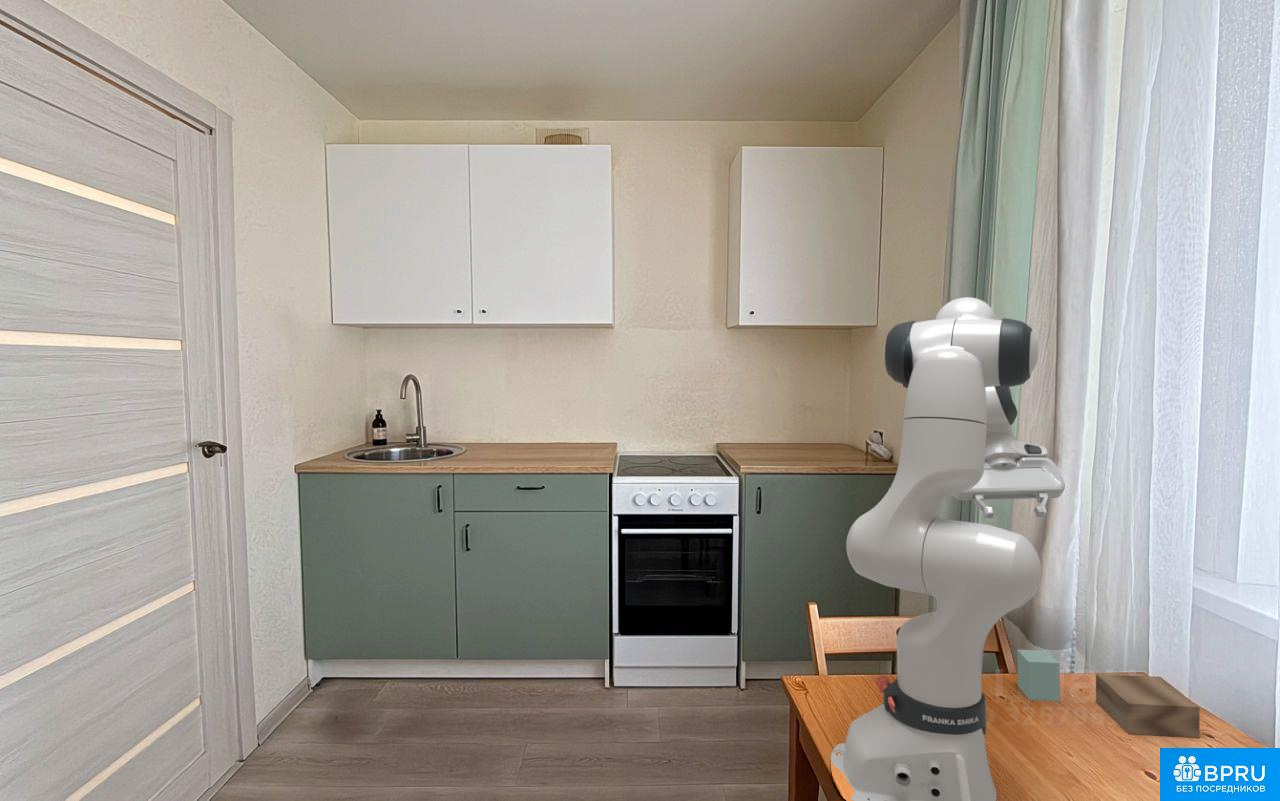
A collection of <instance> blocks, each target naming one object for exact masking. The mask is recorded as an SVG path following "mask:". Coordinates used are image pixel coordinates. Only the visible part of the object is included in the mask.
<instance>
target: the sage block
mask: <svg viewBox="0 0 1280 801" xmlns="http://www.w3.org/2000/svg"><path fill="white" fill-rule="evenodd" d="M1016 652H1017V653H1016V654H1017V655H1016V656H1017V658H1016V659H1017V660H1016V661H1017V662H1016V663H1017V687H1018V689H1020V690H1021V692H1022V693H1023V695H1024V696H1025V698H1027V699H1028V701H1040V702H1041V701H1043V702H1058V703H1059V702H1061V701H1060V700H1061V686H1060V685H1061V684H1060V682H1061V680H1060V679H1061V677H1060V675H1061V674H1060V662H1059V661H1058V660H1057V659H1056V658H1055V657H1054V656H1053V655H1052V653H1050V652H1049V651H1048V650H1038V649H1017V651H1016Z"/></svg>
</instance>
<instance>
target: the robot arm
mask: <svg viewBox="0 0 1280 801" xmlns="http://www.w3.org/2000/svg"><path fill="white" fill-rule="evenodd" d="M882 357H883V363H884V366H885V369H886V373H887V375H888V376H889V377H890V378H891V379H892V380H893V381H894V382H896V383H898V384H901V385H902V387H903V388H905V389H906V390H907V392H906V395H905V396H906V397H905V402H904V409H903V410H904V412H903V421H902V422H903V424H902V436H901V444H900V453H899V460H898V466H897V469H896V472H895V473H896V474H895V476H894V478H893V482H892V483H891V486H890V487H889V488H888V491H887V492H886V493H885V495H884V496H883V497H882V499H881V500H880V501H878V503H877V504H876V505H875V506H874V507H872V508H871V509H870V510H868V511H867V512H865V513H864V514H862V515H860V516H859V517H858V518H857V519H856V520H855V521H854V522H853V523H852V525H851V527H850V528H849V531H848V534H847V537H846V543H845V544H846V545H845V548H846V553H847V554H846V555H847V558H848V561H849V563H850V565H851V567H852V568H853V570H854V572H855V573H857V574H858V575H859V576H861V577H864V578H866V579H868V580H870V581H873V582H875V583H878V584H880V585H883V586H885V587H890V588H896V589H899V590H906V591H909V592H915V593H919V594H922V595H924V594H925V595H928V596H931V597H934V598H935V599H936V603H937V605H936V611H931V612H928V613H927V612H926V613H924V614H919V615H917V616H914V617H912V618H910V619H908V620H907V621H905V622H904V623H903V624H902V625H901V627H900V628H899V630H898V633H897V635H896V665H897V666H896V667H897V668H896V669H897V670H896V671H897V673H896V674H897V678H896V679H895V680H893V682H890V678H888V676H887V675H885V674H879V675H878V676H877V677H876V678H875V684H876V686H877V689H878V690H879V692H881V694H882V695H883V697H882V699H883V700H882V701H883V703H882V704H880V705H879V706H876V707H875V708H873V709H872V710H869V711H867V712H866V713H865V714H864V713H863V715H861V716H858V717H857V718H855V719H854V720H853V721H852V722H851V723H850V725H849V728H848V730H847V734H846V740H845V742H841V743H838V744H836V745H835V747H834V748H833V750H832V751H831V754H830V760H831V762H832V763H833V764H834V766H835V768H838V769H839V771H840V772H841V771H842V772H843V774H844V776H845V777H846V779H847V781H848V782H849V784H850V785H851V786H852V789H854V792H855V794H854V795H853V796H852V798H851V800H853V801H997V797H998V794H997V789H996V786H995V784H994V780H993V778H992V774H991V769H990V766H989V761H988V756H987V750H986V741H985V735H986V734H987V721H988V718H987V717H988V716H987V715H988V714H987V712H988V711H987V702H986V697H985V694H984V693H983V691H982V689H983V688H982V685H983V684H982V678H983V677H982V675H983V674H982V673H983V672H982V670H983V657H984V647H985V644H986V640H987V637H988V636H989V634H990V632H991V630H992V629H993V627H994V626H995V625H996V624H997V622H998V621H999V620H1000V619H1002V617H1004V616H1005V615H1007V614H1008V613H1010V612H1012V611H1013V610H1016V609H1019V608H1021V607H1022V606H1024V605H1025V604H1027V603H1028V602H1029V601H1030V600H1031V599H1032V598H1033V597H1034V596H1035V595H1036V592H1037V591H1038V589H1039V587H1040V584H1041V580H1042V574H1043V573H1042V570H1043V569H1042V563H1041V560H1040V557H1039V554H1038V552H1037V550H1036V548H1035V547H1034V545H1033V544H1032V543H1031V541H1030V540H1029V539H1028V538H1027V537H1026V536H1025V535H1022V534H1020V533H1017V532H1014V531H1010V530H1008V529H1005V528H1001V527H998V526H994V525H992V524H987V523H986V524H985V523H979V522H972V521H964V520H963V521H962V520H955V519H948V518H940V517H938V516H939V511H940V508H941V506H942V504H943V503H944V502H945V501H946V499H948V498H949V497H952V496H953V497H954V498H955V499H956V500H958V501H973V505H974V506H976V507H977V508H978V509H979V510H980V511H981V512H982V514H983V518H984V519H993V518H994V515H995V514H994V511H993V510H994V509H993V506H988V505H987V504H985V502H984V501H988V500H990V501H991V500H992V501H993V500H1024V499H1025V500H1026V499H1031V500H1032V499H1036V501H1037V503H1039V505H1036V506H1035V508H1034V509H1033V512H1034V513H1035V517H1037V518H1045V517H1047V508H1046V504H1047V501H1048V500H1049V499H1057V498H1060V497H1061V496H1062V494H1063V493H1064V490H1065V488H1066V484H1065V481H1064V478H1063V476H1062V474H1061V471H1060V469H1059V468H1058V466H1057V464H1056V463H1055V462H1054V461H1053V460H1052V459H1050V458H1048V455H1049V452H1048V448H1046V447H1045V446H1043V445H1038V444H1037V445H1036V444H1033V443H1028V442H1023V441H1020V440H1017V438H1016V436H1015V435H1014V433H1013V432H1012V431H1013V430H1012V428H1013V424H1014V423H1015V421H1016V418H1017V416H1018V410H1017V406H1016V404H1015V403H1014V401H1013V398H1012V392H1011V390H1010V387H1011V388H1012V387H1017V386H1020V385H1023V384H1025V383H1026V382H1027V381H1028V380H1029V379H1030V378H1031V376H1032V375H1031V374H1032V373H1033V371H1034V369H1035V368H1036V366H1037V364H1038V359H1039V346H1038V340H1037V338H1036V336H1035V334H1034V333H1033V327H1031V326H1030V325H1028V324H1027V323H1026V322H1024V321H1022V320H1018V319H1013V318H1012V319H1011V318H1006V317H1004V318H1001V319H999V318H998V315H996V313H995V311H994V310H993V308H992V307H991V306H990V305H989V304H988V303H987V302H985V301H984V300H981V299H979V298H976V297H970V296H966V297H965V296H964V297H960V298H955V299H953V300H951V301H948V302H946V304H945V305H943V306H942V307H941V308H940V310H938V312H937V314H936V316H935V319H930V320H929V319H928V320H924V321H923V320H922V321H915V320H911V321H906V322H902V323H897V324H896V325H894V326H893V327H892V328H891V329H890V330H889V331H888V333H887V335H886V339H885V342H884V345H883V350H882ZM836 753H840V754H841V755H840V756H838V755H836ZM854 792H853V793H854Z"/></svg>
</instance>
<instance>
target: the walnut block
mask: <svg viewBox="0 0 1280 801" xmlns="http://www.w3.org/2000/svg"><path fill="white" fill-rule="evenodd" d="M1095 702H1096V703H1097V704H1098V706H1100V707H1101V708H1102V709H1103V710H1104V712H1105V713H1107V714H1108V715H1109V716H1110V717H1111V718H1112V719H1113V720H1114V721H1115V722H1116V723H1117V724H1118V725H1119V726H1120V727H1121V728H1122V729H1123V730H1124V731H1125V732H1126V733H1127V734H1128V735H1138V736H1139V735H1141V736H1159V737H1176V738H1177V737H1179V738H1192V737H1199V738H1200V706H1199V705H1198V704H1196V703H1194V701H1192V700H1191V699H1190V698H1189V697H1187V696H1186V695H1184V693H1182V692H1181V691H1180V690H1178V689H1177V688H1176V687H1174V686H1173V685H1172V684H1170V683H1169V682H1168V681H1167V680H1165V679H1164V678H1163V677H1161V676H1155V675H1154V676H1153V675H1134V674H1133V675H1130V674H1129V675H1128V674H1127V675H1126V674H1106V673H1105V674H1104V673H1102V674H1101V673H1096V674H1095Z"/></svg>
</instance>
